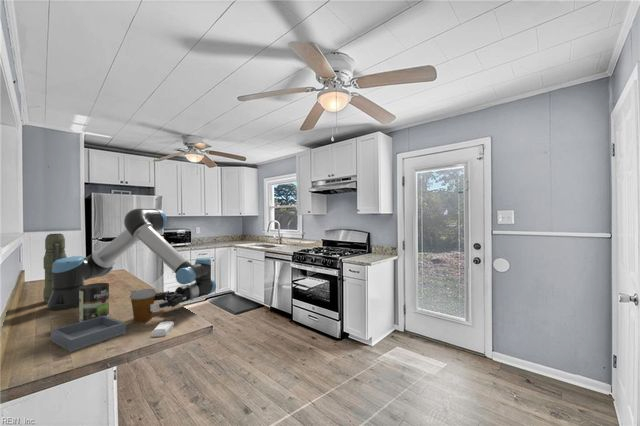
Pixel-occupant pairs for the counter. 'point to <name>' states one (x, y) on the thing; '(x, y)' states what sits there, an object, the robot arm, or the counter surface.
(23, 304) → the counter surface
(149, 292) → the disposable coffee cup
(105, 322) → the square open box
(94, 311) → the coffee can
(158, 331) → the white light switch
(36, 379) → the counter surface
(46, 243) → the thermos
